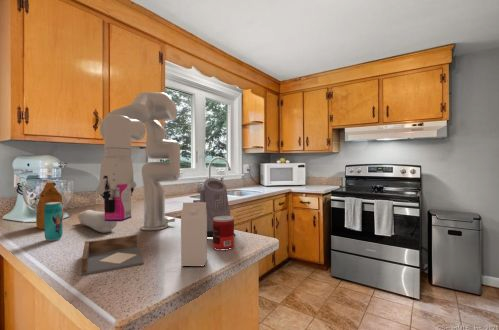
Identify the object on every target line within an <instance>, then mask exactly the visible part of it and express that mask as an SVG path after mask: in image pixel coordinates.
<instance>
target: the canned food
mask: <svg viewBox="0 0 499 330" xmlns="http://www.w3.org/2000/svg"><path fill="white" fill-rule="evenodd" d="M234 233H235V217H234V216H233V215H232V216H231V215H230V216H217V217H214V218H213V240H212V246H213V249H214V248H216V249H229V248H232V247H233V248H234V247H235V236H234ZM233 248H232V249H233Z"/></svg>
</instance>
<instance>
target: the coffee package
mask: <svg viewBox="0 0 499 330" xmlns="http://www.w3.org/2000/svg"><path fill="white" fill-rule="evenodd" d="M55 186H57V183H56V182H51V181H49V180H48V181H46V182H45V185H44V187H43V188H42V191H41V192H40V195H39V197H38V198H39V199H38V202H37V205H36V216H35V217H36V220H35V221H36V224H35V225H36V227H37V229H38V230H45V214H44V207H45V205H46V204H45V203H49V202H61V204H62V221H63V218H64V209H63V208H64V207H63V206H64V205H63V202H64V201H63V196H62V195H61V193H60V192H59V190H57V188H56V187H55Z"/></svg>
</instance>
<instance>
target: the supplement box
mask: <svg viewBox="0 0 499 330" xmlns="http://www.w3.org/2000/svg"><path fill="white" fill-rule="evenodd" d="M106 186H107V185H106ZM104 189H106V188H104ZM108 189H110V187H108ZM109 195H110V192H109ZM113 200H115V212H114V213H107V212H105V200H104V199H103V201H104V202H103V205H104V211H103V212H105V221H117V223H118V222H119V223H120V222H124V221H126V220H129V219H131V218H132V196H131V184H122V185H118V186H117V190H115V194H114V197H113Z"/></svg>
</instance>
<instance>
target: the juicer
mask: <svg viewBox="0 0 499 330" xmlns="http://www.w3.org/2000/svg"><path fill="white" fill-rule="evenodd" d="M192 202H206V209H207V237H213V218H214V217H217V216H231V207H230V205H229V197H228V190H227V186H226V184H225V182H223V181H222V180H221V179H218V178H214V177H211V178H207V179H206V180H205V181H204V185H203V186H201V188H200V191H199V199H197V200H196V199H194V200H193V201H192Z"/></svg>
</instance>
